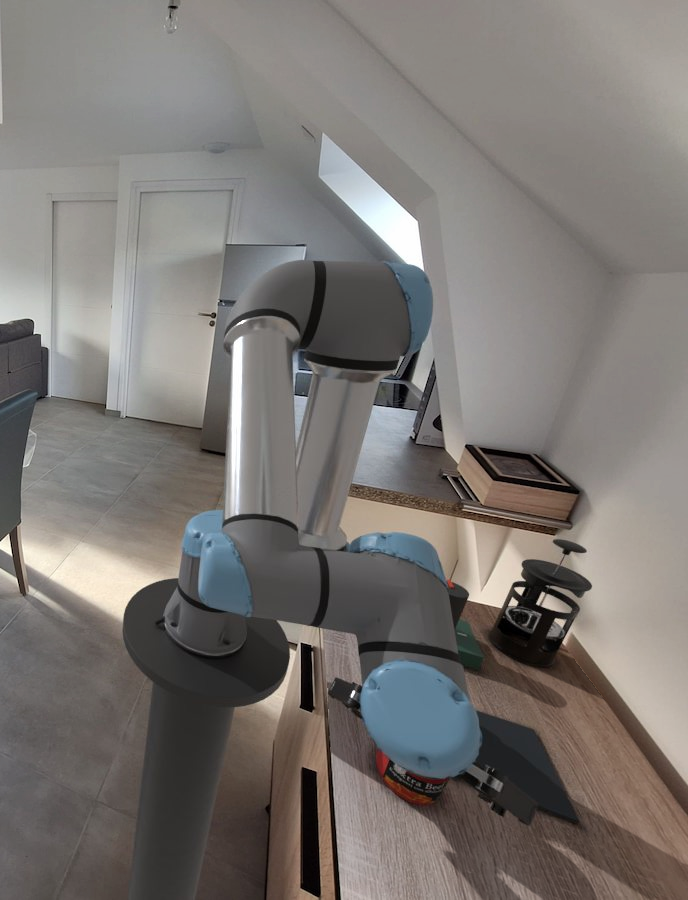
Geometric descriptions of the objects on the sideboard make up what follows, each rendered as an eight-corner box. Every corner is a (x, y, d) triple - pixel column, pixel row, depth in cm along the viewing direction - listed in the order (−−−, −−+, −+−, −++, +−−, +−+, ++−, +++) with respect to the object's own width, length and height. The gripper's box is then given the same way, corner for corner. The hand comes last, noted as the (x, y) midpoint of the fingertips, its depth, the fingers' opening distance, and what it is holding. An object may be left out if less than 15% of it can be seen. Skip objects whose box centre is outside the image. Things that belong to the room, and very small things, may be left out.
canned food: (377, 791, 60) (401, 732, 56) (371, 740, 67) (391, 684, 63) (447, 819, 57) (476, 760, 53) (432, 763, 64) (458, 706, 60)
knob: (456, 640, 83) (473, 599, 79) (423, 631, 84) (439, 590, 81) (449, 623, 87) (465, 583, 83) (418, 615, 89) (432, 575, 85)
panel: (399, 646, 85) (404, 633, 84) (391, 613, 93) (395, 601, 92) (478, 670, 80) (484, 656, 79) (462, 633, 89) (468, 620, 87)
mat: (427, 767, 64) (428, 764, 63) (409, 691, 75) (410, 688, 75) (577, 824, 57) (579, 821, 57) (532, 732, 69) (534, 729, 69)
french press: (561, 679, 79) (622, 568, 71) (492, 655, 84) (542, 549, 75) (543, 637, 88) (595, 536, 80) (482, 618, 93) (525, 520, 85)
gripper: (279, 682, 52) (310, 705, 67) (585, 894, 35) (538, 863, 49) (310, 625, 54) (334, 660, 68) (619, 802, 36) (563, 798, 51)
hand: (419, 745), depth 59 cm, fingers open, 13 cm apart
